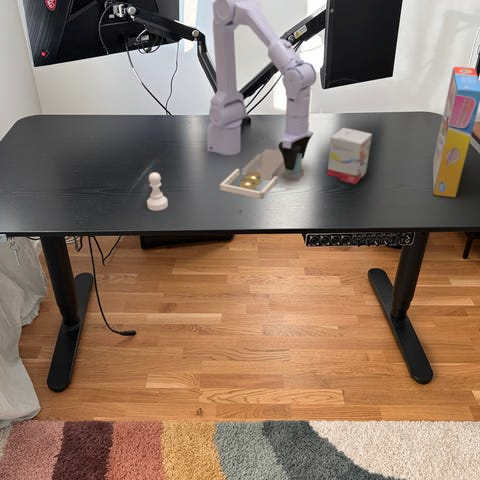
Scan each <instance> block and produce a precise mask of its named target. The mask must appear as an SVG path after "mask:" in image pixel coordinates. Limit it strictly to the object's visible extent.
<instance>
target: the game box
mask: <svg viewBox="0 0 480 480" xmlns="http://www.w3.org/2000/svg"><path fill="white" fill-rule="evenodd" d="M448 85H449V86H448V90H447V95H446V99H445V100H446V101H445V103H444V109H443V114H442V117H441V124H440V127H439V128H440V129H439V132H438V137H437V142H436V146H435V149H434V150H435V151H434V156H433V161H432V178H433V179H432V184H433V186H432V190H433V191H432V192H433V195H434V196H439V197H440V196H441V197H446V198H447V197H449V198H456V197H457V192H458V189H459V185H460V180H461V177H462V174H463V173H462V172H463V168H464V164H465V161H466V157H467V154H468V149H469V145H470V143H471V142H470V141H471V137H472V135H473V134H472V133H473V129H474V125H475V121H476V118H477V113H478V110H479V106H480V79H479V76H478V73H477V69H476V67H475V68H473V67H465V66H462V67H461V66H453V68H452V71H451V75H450V81H449V84H448Z"/></svg>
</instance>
